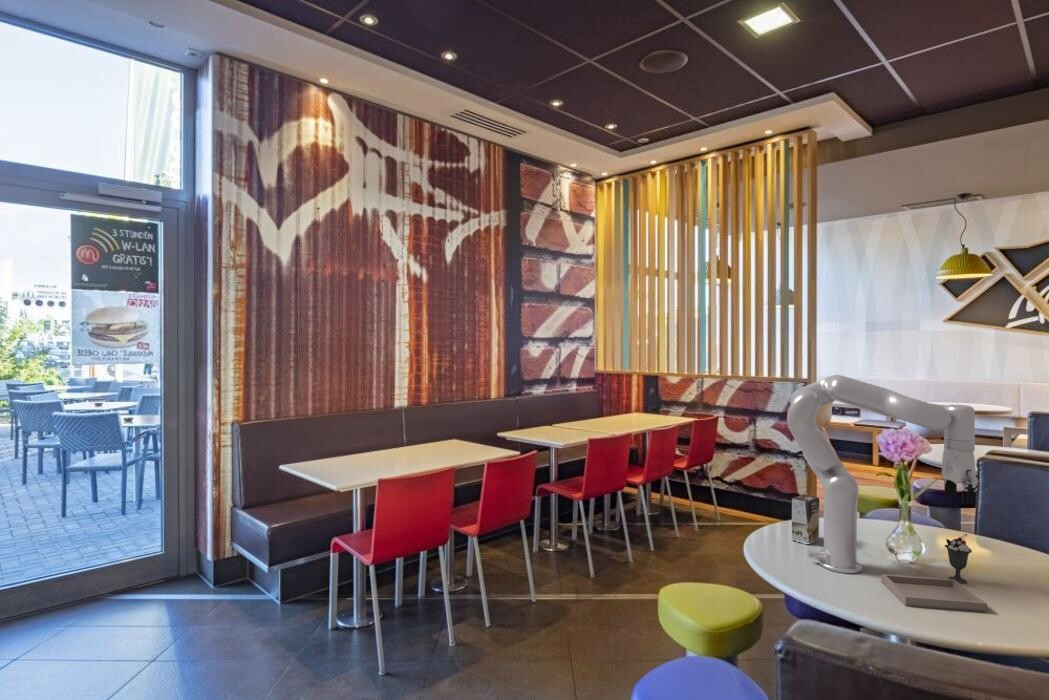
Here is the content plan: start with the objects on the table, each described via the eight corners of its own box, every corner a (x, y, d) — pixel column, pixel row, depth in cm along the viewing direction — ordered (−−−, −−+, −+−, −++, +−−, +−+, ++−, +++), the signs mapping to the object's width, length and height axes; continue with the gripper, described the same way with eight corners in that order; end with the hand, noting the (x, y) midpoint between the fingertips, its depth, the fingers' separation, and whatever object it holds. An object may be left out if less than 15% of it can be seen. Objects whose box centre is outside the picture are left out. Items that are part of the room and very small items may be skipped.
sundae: (976, 585, 169) (977, 536, 169) (951, 584, 170) (951, 535, 170) (964, 577, 176) (964, 529, 175) (940, 575, 177) (940, 528, 177)
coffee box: (808, 545, 203) (808, 501, 203) (791, 540, 208) (791, 498, 208) (819, 540, 209) (819, 497, 209) (802, 535, 214) (802, 493, 214)
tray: (905, 606, 156) (905, 597, 156) (881, 582, 172) (881, 574, 172) (987, 612, 152) (987, 603, 152) (954, 587, 168) (954, 579, 168)
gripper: (931, 439, 182) (931, 492, 182) (961, 449, 165) (961, 507, 165) (957, 440, 180) (957, 493, 180) (990, 450, 163) (990, 508, 163)
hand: (959, 499), depth 173 cm, fingers open, 9 cm apart
